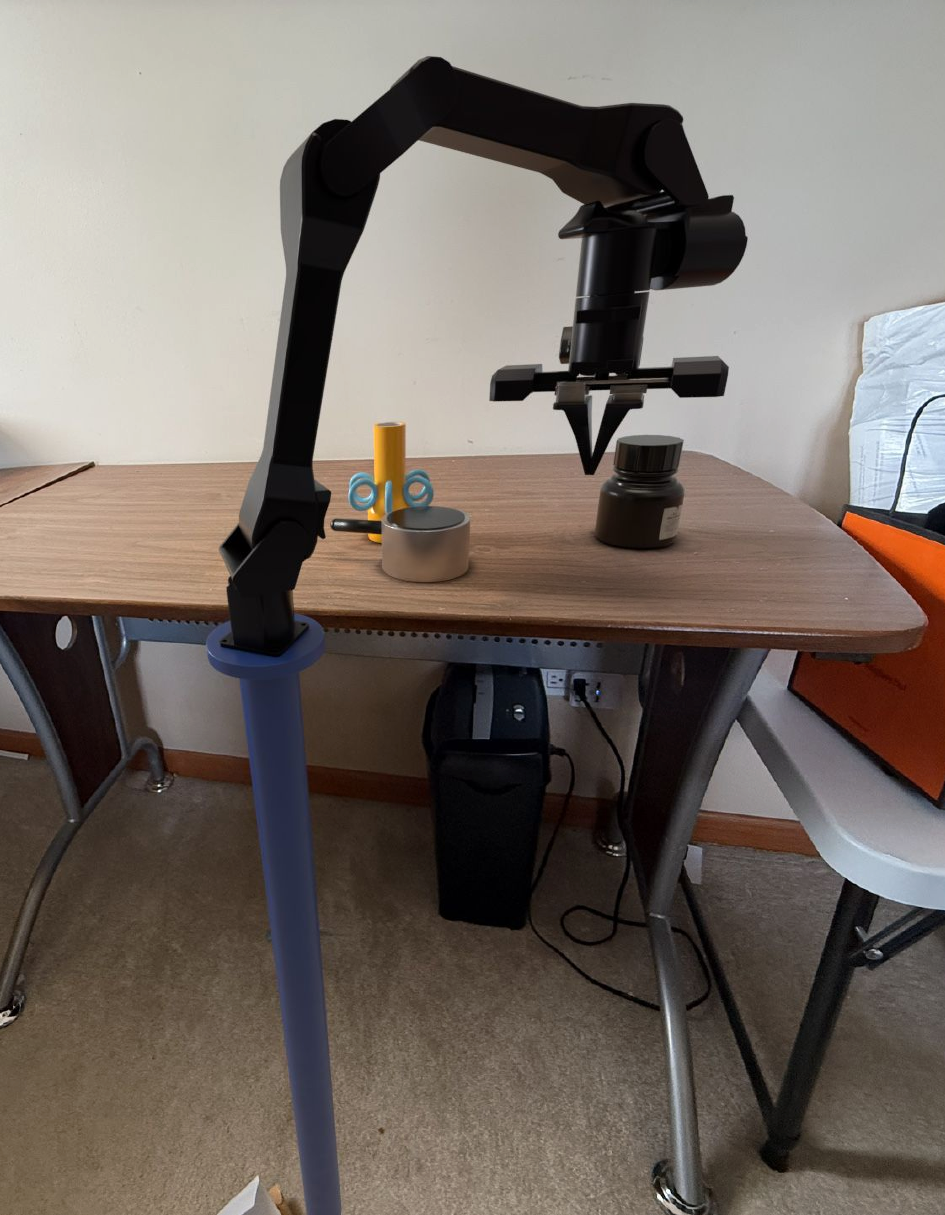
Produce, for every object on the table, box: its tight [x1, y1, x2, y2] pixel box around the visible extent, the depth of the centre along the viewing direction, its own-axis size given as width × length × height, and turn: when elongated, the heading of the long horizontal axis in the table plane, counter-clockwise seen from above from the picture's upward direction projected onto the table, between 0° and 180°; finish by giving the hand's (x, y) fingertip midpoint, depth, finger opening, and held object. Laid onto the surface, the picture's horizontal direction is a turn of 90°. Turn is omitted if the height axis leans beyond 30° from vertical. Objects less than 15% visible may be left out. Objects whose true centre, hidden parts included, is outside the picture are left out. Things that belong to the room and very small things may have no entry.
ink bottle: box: [594, 434, 686, 549], centre depth 75 cm, size 10×9×12 cm
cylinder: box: [347, 421, 435, 544], centre depth 82 cm, size 12×10×15 cm
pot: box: [329, 505, 471, 583], centre depth 74 cm, size 17×10×6 cm, turn 64°
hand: (589, 474), depth 60 cm, fingers closed
